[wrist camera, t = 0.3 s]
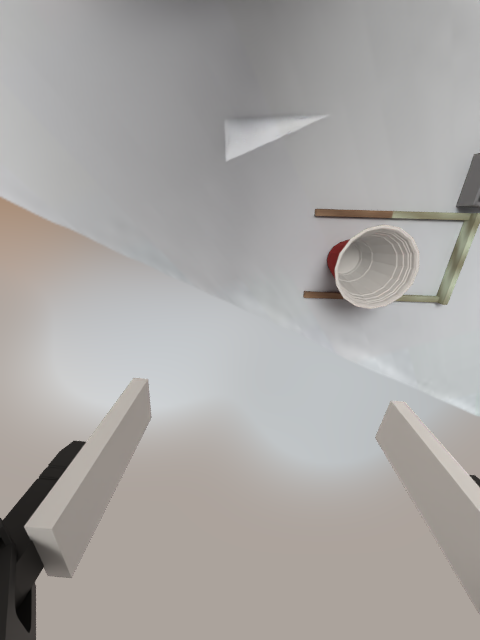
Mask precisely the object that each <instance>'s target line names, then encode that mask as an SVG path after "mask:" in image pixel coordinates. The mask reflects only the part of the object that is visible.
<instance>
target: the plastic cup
mask: <svg viewBox="0 0 480 640" xmlns="http://www.w3.org/2000/svg"><path fill="white" fill-rule="evenodd" d="M327 263H328V267H329V269H330V271H331V273H332V275H333V277H334V278H335V280H336V286H337V288H338V289H339V291H340V293H341V294H342V296H343V298H344V299H346V300H347V301H349V302H350V303H352V304H353V305H355V306H358V307H363V308H368V309H372V308H377V307H382V306H387V305H388V304H390V303H392V302H394V301H395V300H397V299H399V298H400V297H402V295H403V294H404V293H405V292H406V291H407V290H408V289H409V288H410V286H411V285H412V284H413V282H414V279H415V277H416V275H417V272H418V270H419V250H418V248H417V246H416V243H415V241H414V239H413V237H411V236H410V235H409V234H408V233H406V232H405V231H404V230H402V229H401V228H399V227H394V226H388V225H380V226H375V227H371V228H367V229H365V230H363V231H362V232H360V233H359V234H357V235H356V236H354V237H353V238H351V239H349V240H346V241H343V242H340V243H338V244H337V245H335V246H334V247H333V248H332V249H331V251H330V252H329V255H328V258H327Z"/></svg>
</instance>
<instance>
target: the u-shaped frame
mask: <svg viewBox="0 0 480 640" xmlns="http://www.w3.org/2000/svg"><path fill="white" fill-rule="evenodd" d="M315 216H337V217H371V218H405V219H439V220H464V223H463V226H462V228H461V231H460V234H459V236H458V239H457V242H456V244H455V247H454V250H453V253H452V255H451V258H450V261H449V263H448V266H447V269H446V271H445V274H444V277H443V280H442V282H441V285H440V288H439V290H438V293H437V296H422V295H402V297H400V298H399V299H397V300H395V301H411V302H438V303H440V304H443V305H447V304H448V301H449V299H450V296H451V294H452V291H453V289H454V286H455V284H456V281H457V279H458V276H459V274H460V271H461V269H462V266H463V264H464V261H465V258H466V256H467V253H468V251H469V248H470V246H471V243H472V241H473V238H474V236H475V233H476V231H477V228H478V226H479V223H480V213H439V212H404V211H370V210H335V209H315ZM303 297H304V298H329V299H344V298H343V296H342V294H341V293H339V292H311V291H304V295H303Z"/></svg>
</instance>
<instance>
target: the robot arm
mask: <svg viewBox="0 0 480 640" xmlns="http://www.w3.org/2000/svg"><path fill="white" fill-rule="evenodd" d="M150 419H151V408H150V397H149V386H148V379H141V378H133V380H132V381H131V382H130V384H129V385H128V386H127V388H126V389H125V391H124V392H123V393H122V395H121V396H120V397H119V399H118V400H117V401H116V403H115V404H114V406H113V407H112V408H111V409H110V411H109V412H108V413H107V415H106V416H105V418H104V419H103V420H102V422H101V423H100V424H99V426H98V427H97V428H96V430H95V431H94V432H93V434H92V435H91V436H90V438H89V439H88V441H87V442H82V441H73V442H72V443H71V444H69V445H68V446H66V447H65V448H64V449H62V450H61V451H60V452H59V453H58V454H57V455H56V457H55V458H54V459H53V460H52V461H51V463H50V464H49V466H48V467H47V468H46V469H45V470H44V471H43V472H42V474H41V475H40V476H39V479H37V480H36V481H35V482H34V483H33V484H32V486H31V487H30V488H29V489H28V491H27V492H26V493H25V494H24V496H23V497H22V498H21V499H20V500H19V501H18V503H17V504H16V505H15V506H14V507H13V509H12V510H11V511H10V512H9V514H8V515H7V516H6V518H4V520H3V521H2V519H1V518H0V640H36V585H35V580H36V579H37V577H38V576H39V574H40V572H41V571H42V569H43V567H44V569H45V571H46V573H47V575H48V576H55V577H66V578H72V576H73V574H74V572H75V570H76V568H77V566H78V564H79V562H80V560H81V558H82V556H83V554H84V552H85V550H86V548H87V546H88V544H89V542H90V540H91V538H92V536H93V534H94V532H95V530H96V528H97V526H98V524H99V522H100V520H101V518H102V516H103V514H104V512H105V510H106V508H107V506H108V504H109V502H110V500H111V498H112V496H113V494H114V492H115V490H116V487H117V486H118V483H119V482H120V479H121V478H122V476H123V474H124V472H125V470H126V468H127V466H128V464H129V462H130V460H131V458H132V456H133V454H134V452H135V449H136V448H137V446H138V444H139V441H140V440H141V438H142V435H143V434H144V431H145V430H146V428H147V426H148V423H149V422H150ZM375 438H376V440H377V442H378V443H379V445H380V447H381V449H382V450H383V452H384V453H385V455H386V457H387V459H388V460H389V462H390V464H391V465H392V467H393V469H394V471H395V472H396V474H397V476H398V477H399V479H400V481H401V482H402V484H403V486H404V488H405V489H406V491H407V493H408V494H409V496H410V498H411V499H412V501H413V503H414V504H415V506H416V508H417V510H418V511H419V513H420V515H421V516H422V518H423V520H424V521H425V523H426V525H427V527H428V528H429V530H430V532H431V533H432V535H433V537H434V538H435V540H436V542H437V543H438V545H439V547H440V549H441V550H442V552H443V554H444V555H445V557H446V559H447V560H448V562H449V564H450V565H451V567H452V569H453V571H454V572H455V574H456V576H457V577H458V579H459V581H460V582H461V584H462V586H463V587H464V589H465V591H466V593H467V594H468V596H469V598H470V599H471V601H472V603H473V604H474V606H475V608H476V609H477V611H478V613H479V614H480V479H479V478H477V477H476V476H474V475H468V473H466V471H465V470H464V469H463V468H462V467H461V466H460V465H459V463H458V462H457V461H456V460H455V459H454V458H453V456H452V455H451V454H450V453H449V452H448V451H447V449H446V448H445V447H444V446H443V445H442V444H441V443H440V441H439V440H438V439H437V438H436V437H435V436H434V435H433V433H432V432H431V431H430V430H429V429H428V428H427V427H426V426H425V424H424V423H423V422H422V421H421V420H420V419H419V417H418V416H417V415H416V414H415V413H414V412H413V411H412V409H410V407H409V406H408V405H407V404H406V403H405V402H400V401H390V404H389V406H388V409H387V411H386V414H385V415H384V418H383V420H382V423H381V425H380V427H379V430H378V432H377V434H376V437H375Z"/></svg>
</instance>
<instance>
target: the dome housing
mask: <svg viewBox="0 0 480 640" xmlns="http://www.w3.org/2000/svg"><path fill="white" fill-rule="evenodd" d="M457 206H459V207H480V153H478V154H475V155H474V157H473V160H472V163H471V166H470V168H469V171H468V174H467V177H466V180H465V183H464V186H463V188H462V191H461V194H460V197H459V200H458V203H457Z"/></svg>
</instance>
